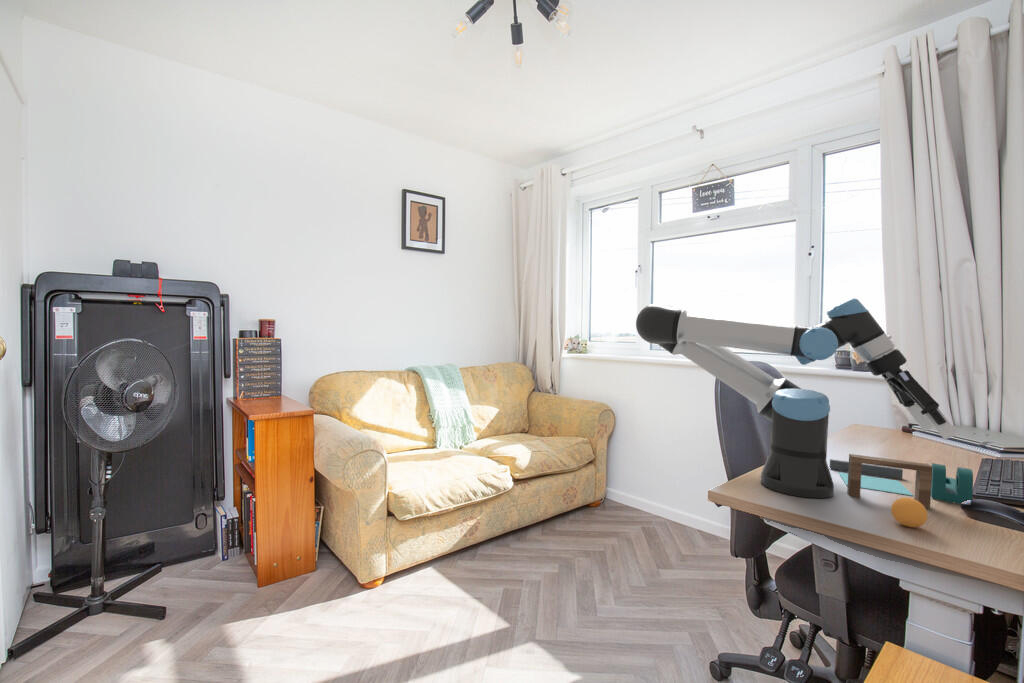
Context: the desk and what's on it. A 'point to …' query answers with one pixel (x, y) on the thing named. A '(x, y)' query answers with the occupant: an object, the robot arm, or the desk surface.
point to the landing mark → (879, 484)
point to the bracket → (951, 484)
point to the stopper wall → (869, 469)
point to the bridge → (922, 469)
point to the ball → (909, 512)
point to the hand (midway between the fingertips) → (940, 432)
